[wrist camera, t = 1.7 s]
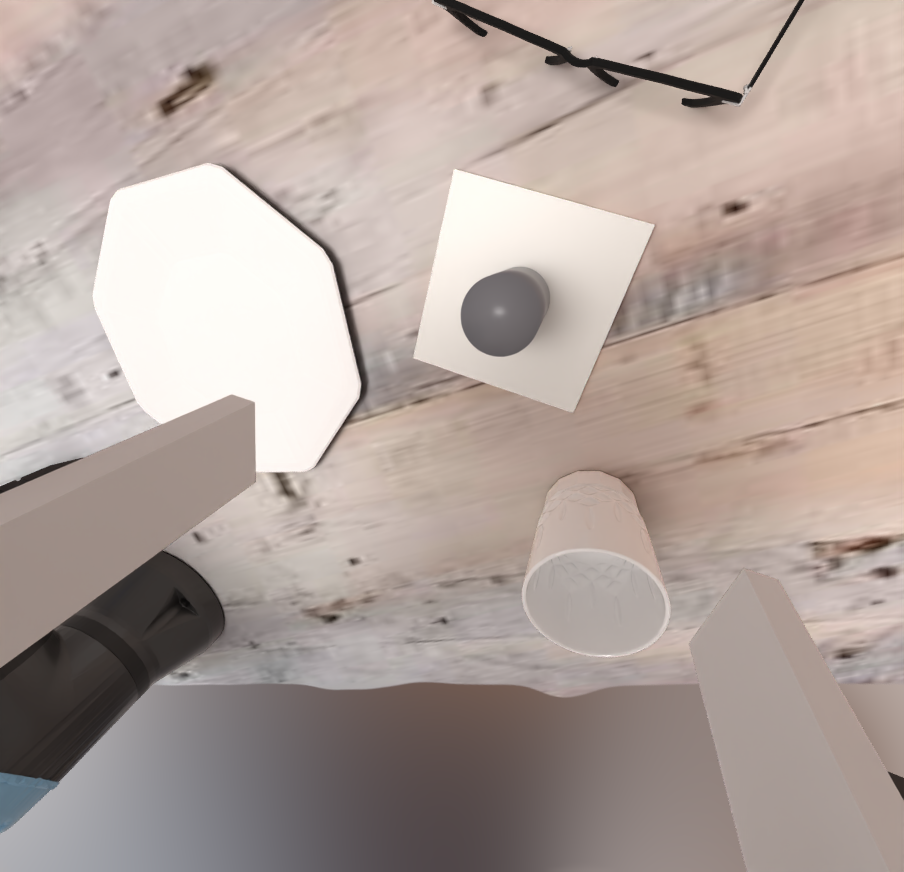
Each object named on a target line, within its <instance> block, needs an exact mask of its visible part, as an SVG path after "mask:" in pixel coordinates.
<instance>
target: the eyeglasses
mask: <svg viewBox="0 0 904 872" xmlns="http://www.w3.org/2000/svg"><path fill="white" fill-rule="evenodd" d="M803 2H804V0H799V1H798V3H797V5H796V6H795V8H794V10H793V11H792V13H791V15H790V16H789V18H788V20H787V21H786V23H785V25H784V27H783V28H782V30H781V32H780V33H779V35H778V37H777V38H776V40H775V42H774V43H773V45H772V47H771V48H770V50H769V52H768V53H767V55H766V57H765V58H764V60H763V62H762V63H761V65H760V67H759V68H758V70H757V72H756V73H755V75H754V77H753V78H752V80H751V82H750V83H749V84H748V85H745V86H744V88H743V89H744V93H743V94H744V96H743V95H742V94H740V93H737V92H734V91H730V90H726V89H722V88H718V87H714V86H710V85H706V84H702V83H698V82H694V81H690V80H686V79H682V78H678V77H675V76H671V75H667V74H663V73H659V72H654V71H650V70H646V69H642V68H637V67H633V66H629V65H625V64H621V63H617V62H613V61H609V60H604V59H600V58H598V56H596V57H595V58H594V57H591V58H590V59H586V60H582V59H579V58H576V57H575V56H573V55H572V54H571V50H572V46H571V47H568V48H565V47H563V46H561V45H559V44H556V43H554V42H552V41H550V40H547V39H545V38H543V37H540V36H538V35H535V34H533V33H531V32H528V31H526V30H524V29H522V28H519V27H517V26H515V25H513V24H510V23H508V22H506V21H504V20H501V19H499V18H496V17H494V16H491V15H489V14H487V13H484V12H482V11H479V10H477V9H475V8H473V7H470V6H468V5H466V4H463V3H461V2H459V1H456V0H432V3H433V4H434V5H437V6H439V7H441V8H443V9H445V10H446V11H448V12H449V13H450V14H451V15H453V16H454V17H455V18H456V19H458V20H459V21H460V22H461V23H463V24H464V25H465V26H466V27H468V28H469V29H470V30H472V31H473V32H474V33H476V34H478V35H480V36H482V37H485V36H486V35H487V33H488V32H487V31H486V30H484V29H482V28H481V27H479V26H478V25H477V24H475V23H474V22H473V21H472V20H470V19H469V18H468V17H467V16H469V17H471V18H474V19H476V20H478V21H481V22H483V23H486V24H488V25H491V26H493V27H495V28H498V29H500V30H503V31H505V32H507V33H510V34H512V35H514V36H516V37H518V38H521V39H523V40H525V41H527V42H530V43H532V44H534V45H537V46H539V47H541V48H544V49H546V50H548V51H551V52H553V53H555V54H557V55H558V56H547V57H546V60H545V63H547V64H549V65H559V64H563V63H566V62H568V63H570V64H571V65H573V66H575V67H584V68H585V67H588V69H589V70H590V71H591V72H592V73H594V74H595V75H596V76H597V77H599V78H600V79H601V80H603V81H604V82H606V83H607V84H609V85H611V86H614V87H616V86H617V85H618V83H619V80H617V79H615V78H614V77H612V76H611V75H609V74H608V73H607V72H605V71H604V70H608V71H612V72H617V73H621V74H624V75H628V76H632V77H637V78H641V79H645V80H649V81H653V82H658V83H662V84H665V85H669V86H673V87H676V88H680V89H684V90H687V91H691V92H695V93H699V94H703V95H707V96H710V97H708V98H702V99H687V98H683V99H682V105H684V106H688V107H706V106H714V105H721V104H730V105H734V106H738V107H739V106H740V105H741V104H742V102H743V101H744V99H745V98H746V96H747V95H748V93H749V92H750V91H751V88H752V87H753V85H754V83H755V82H756V80H757V78H758V77H759V75H760V73H761V72H762V70H763V68H764V67H765V65H766V63H767V62H768V60H769V58H770V57H771V55H772V53H773V52H774V50H775V48H776V47H777V45H778V43H779V42H780V40H781V38H782V37H783V35H784V33H785V32H786V30H787V28H788V27H789V25H790V23H791V22H792V20H793V18H794V17H795V15H796V13H797V12H798V10H799V8H800V7H801V5H802V3H803ZM466 15H467V16H466ZM603 69H604V70H603Z"/></svg>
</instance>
